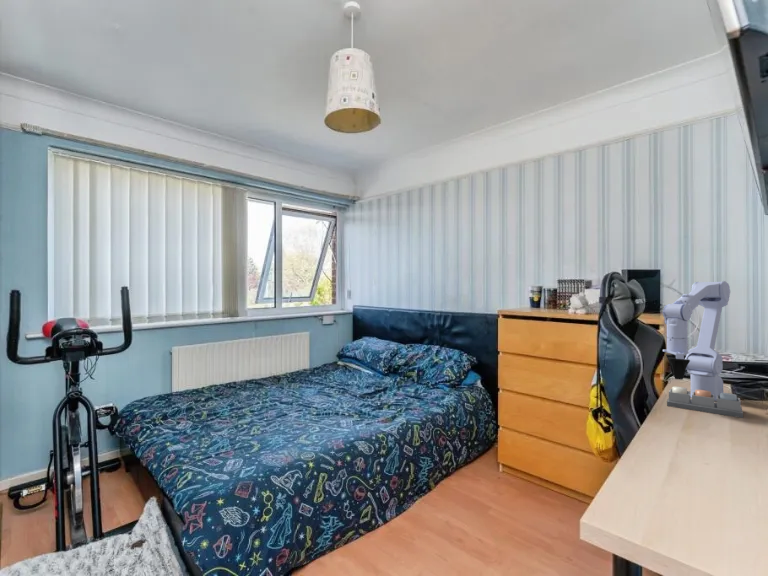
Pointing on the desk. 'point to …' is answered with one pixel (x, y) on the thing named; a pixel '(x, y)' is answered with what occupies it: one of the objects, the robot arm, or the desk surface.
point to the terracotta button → (703, 393)
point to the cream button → (679, 390)
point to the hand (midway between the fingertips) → (677, 377)
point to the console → (705, 404)
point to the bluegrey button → (728, 396)
